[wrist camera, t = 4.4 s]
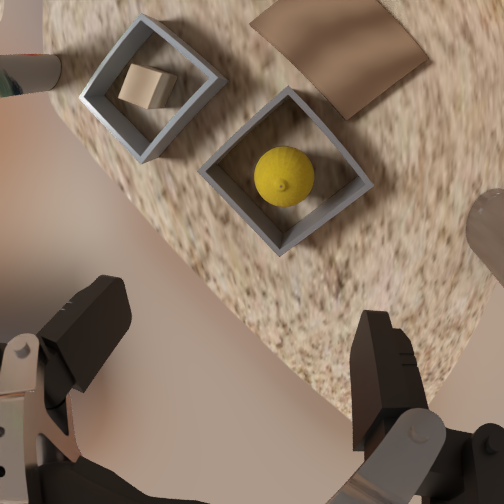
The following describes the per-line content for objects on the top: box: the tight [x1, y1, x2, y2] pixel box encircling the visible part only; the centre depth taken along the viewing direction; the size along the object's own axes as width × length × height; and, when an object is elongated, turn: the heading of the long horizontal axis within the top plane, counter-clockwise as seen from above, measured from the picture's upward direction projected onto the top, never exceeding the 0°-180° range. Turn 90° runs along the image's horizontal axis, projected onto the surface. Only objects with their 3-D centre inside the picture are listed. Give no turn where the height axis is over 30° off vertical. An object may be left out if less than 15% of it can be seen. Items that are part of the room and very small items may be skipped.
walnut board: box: [249, 0, 428, 121], centre depth 22 cm, size 14×12×1 cm
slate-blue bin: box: [79, 13, 229, 164], centre depth 27 cm, size 12×12×4 cm
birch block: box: [118, 64, 178, 109], centre depth 27 cm, size 4×4×4 cm
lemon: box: [254, 146, 314, 207], centre depth 27 cm, size 6×6×8 cm
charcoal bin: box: [197, 85, 374, 257], centre depth 29 cm, size 12×12×4 cm
